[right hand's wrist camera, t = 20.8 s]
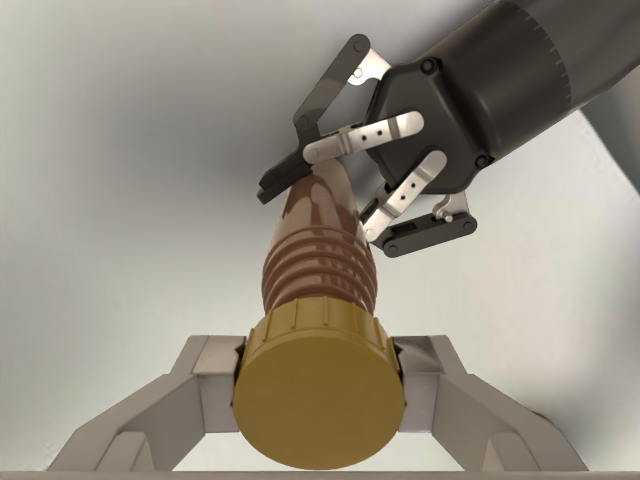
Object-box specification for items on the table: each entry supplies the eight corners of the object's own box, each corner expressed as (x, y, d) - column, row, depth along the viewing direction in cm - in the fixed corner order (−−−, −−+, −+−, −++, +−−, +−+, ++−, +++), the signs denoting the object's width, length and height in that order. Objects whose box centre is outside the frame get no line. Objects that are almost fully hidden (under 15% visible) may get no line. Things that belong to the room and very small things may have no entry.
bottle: (297, 212, 32) (249, 464, 10) (287, 158, 30) (208, 324, 9) (350, 205, 31) (414, 447, 10) (344, 150, 30) (403, 300, 9)
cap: (322, 262, 10) (323, 299, 8) (424, 362, 11) (443, 412, 9) (212, 356, 11) (193, 405, 9) (316, 438, 12) (315, 495, 10)
